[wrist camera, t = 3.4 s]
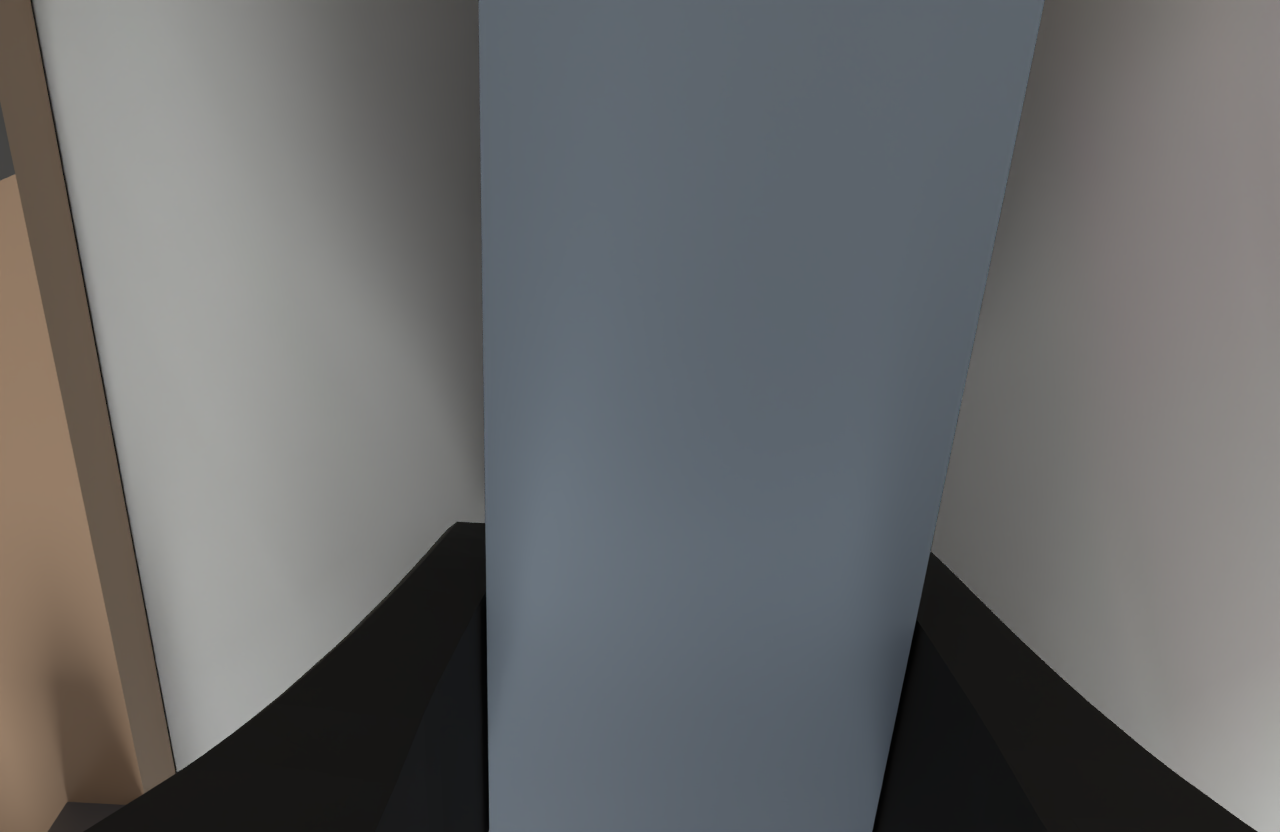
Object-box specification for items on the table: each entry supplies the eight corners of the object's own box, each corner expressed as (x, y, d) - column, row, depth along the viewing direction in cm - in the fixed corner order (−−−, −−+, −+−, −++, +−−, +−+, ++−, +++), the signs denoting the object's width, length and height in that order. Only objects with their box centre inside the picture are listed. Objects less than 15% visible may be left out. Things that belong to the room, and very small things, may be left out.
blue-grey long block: (936, -132, 9) (1074, -144, 6) (767, 943, 16) (794, 1209, 12) (538, -157, 9) (475, -180, 6) (528, 930, 16) (493, 1194, 12)
